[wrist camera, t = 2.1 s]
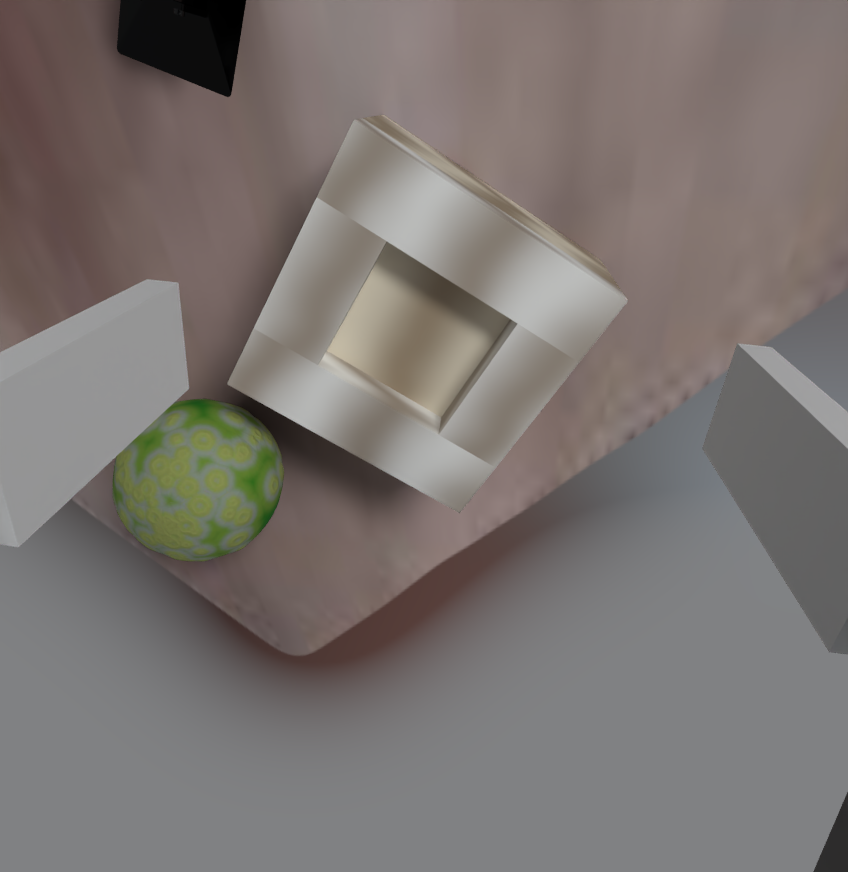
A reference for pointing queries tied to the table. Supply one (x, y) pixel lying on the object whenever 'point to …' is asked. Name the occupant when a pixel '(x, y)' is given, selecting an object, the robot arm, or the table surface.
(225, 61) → the black box
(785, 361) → the robot arm
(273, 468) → the decorative ball
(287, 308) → the display stand
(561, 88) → the table surface
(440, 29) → the table surface
